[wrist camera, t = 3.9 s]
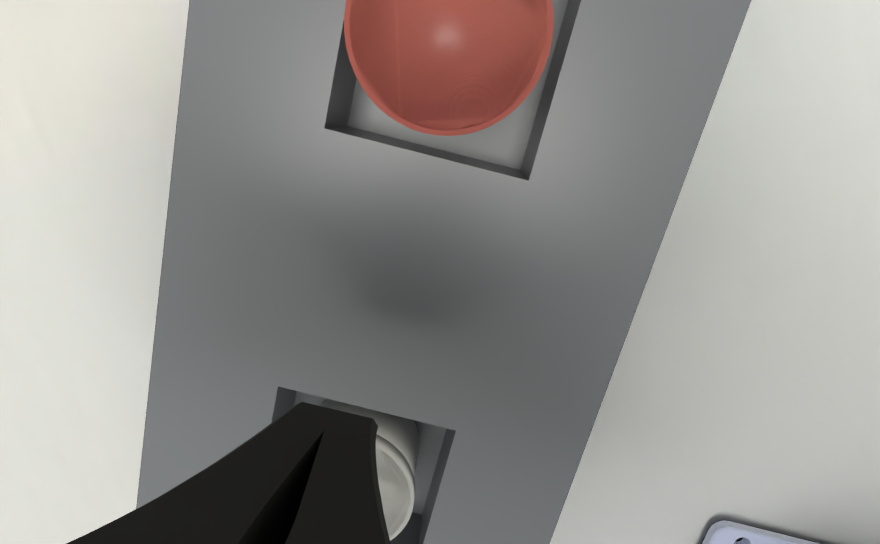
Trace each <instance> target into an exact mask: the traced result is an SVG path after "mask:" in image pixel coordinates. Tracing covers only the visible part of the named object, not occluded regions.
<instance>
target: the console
mask: <svg viewBox="0 0 880 544" xmlns="http://www.w3.org/2000/svg"><path fill="white" fill-rule="evenodd" d="M750 2H751V0H552V5H553V21H554V26H553V37H552V43H551V48H550V52H549V56H548V59H547V62H546V65H545V67H544V70H543V72H542V74H541V76H540V78H539V80H538V82H537V83H536V85H535V86H534V88H533V89H532V91H531V92H530V94H529V95H528V96H527V97H526V99H525V100H524V101H523V102H522V103H521V104H520V105H519V106H518V107H517V108H516V109H515V110H514V111H513V112H512V113H510V114H509V115H508V116H506V117H505V118H503V119H502V120H501V121H499V122H497V123H495V124H493V125H491V126H489V127H488V128H485V129H482V130H479V131H477V132H473V133H469V134H464V135H456V136H438V135H431V134H426V133H422V132H419V131H416V130H413V129H410V128H408V127H406V126H404V125H402V124H400V123H398V122H397V121H395V120H394V119H392V118H391V117H389V116H388V115H386V114H385V113H384V112H383V111H382V110H381V109H380V108H378V107H377V106H376V104H375V103H374V102H373V101H372V100H371V99H370V98H369V97H368V95H367V94H366V92H365V91H364V89H363V88H362V86H361V85H360V83H359V81H358V79H357V77H356V75H355V73H354V71H353V68H352V66H351V63H350V60H349V56H348V52H347V48H346V43H345V35H344V13H345V5H346V0H190V1H189V10H188V20H187V30H186V39H185V49H184V58H183V68H182V77H181V87H180V96H179V106H178V115H177V125H176V134H175V144H174V154H173V163H172V173H171V182H170V192H169V201H168V211H167V220H166V230H165V239H164V249H163V259H162V268H161V278H160V287H159V297H158V306H157V316H156V325H155V335H154V344H153V354H152V364H151V373H150V383H149V392H148V402H147V411H146V421H145V430H144V440H143V449H142V459H141V468H140V478H139V488H138V497H137V507H136V509H137V508H139V507H141V506H143V505H145V504H147V503H148V502H150V501H152V500H154V499H156V498H157V497H159V496H161V495H163V494H164V493H166V492H167V491H169V490H171V489H172V488H174V487H176V486H177V485H179V484H181V483H182V482H184V481H186V480H187V479H189V478H191V477H192V476H194V475H196V474H197V473H199V472H201V471H202V470H204V469H206V468H207V467H209V466H210V465H212V464H213V463H215V462H216V461H218V460H219V459H221V458H222V457H224V456H225V455H227V454H228V453H230V452H231V451H233V450H234V449H236V448H237V447H239V446H240V445H241V444H243V443H244V442H246V441H247V440H249V439H250V438H252V437H253V436H254V435H256V434H257V433H258V432H260V431H261V430H263V429H264V428H265V427H267V426H268V425H269V424H271V423H272V422H274V421H275V420H276V419H278V418H279V417H280V416H281V415H283V414H284V413H285V412H287V411H288V410H289V409H291V408H292V407H293V406H295V405H297V404H299V403H300V402H305V403H310V404H314V405H318V406H321V405H322V404H323V403H324V402H326V401H327V400H328V399H331V400H335V401H339V402H343V403H347V404H351V405H355V406H359V407H363V408H367V409H371V410H375V411H379V412H383V413H387V414H391V415H395V416H399V417H403V418H407V419H411V420H414V422H415V424H416V426H417V429H418V433H419V452H418V458H417V464H416V471H415V477H414V479H415V499H414V505H413V510H412V514H411V517H410V519H409V521H408V523H407V525H406V526H405V527H404V529H403V530H402V531H401V532H400V533H399V534H398V535H397V536H396V537H395V538H394V539H392V540H391V541H390V542H391V544H549V543H550V541H551V538H552V535H553V532H554V530H555V527H556V524H557V522H558V519H559V516H560V514H561V511H562V508H563V506H564V503H565V500H566V497H567V495H568V492H569V489H570V487H571V484H572V481H573V479H574V476H575V473H576V471H577V468H578V465H579V462H580V460H581V457H582V454H583V452H584V449H585V446H586V444H587V441H588V438H589V436H590V433H591V430H592V428H593V425H594V422H595V419H596V417H597V414H598V411H599V409H600V406H601V403H602V401H603V398H604V395H605V393H606V390H607V387H608V384H609V382H610V379H611V376H612V374H613V371H614V368H615V366H616V363H617V360H618V358H619V355H620V352H621V349H622V347H623V344H624V341H625V339H626V336H627V333H628V331H629V328H630V325H631V323H632V320H633V317H634V314H635V312H636V309H637V306H638V304H639V301H640V298H641V296H642V293H643V290H644V288H645V285H646V282H647V280H648V277H649V274H650V271H651V269H652V266H653V263H654V261H655V258H656V255H657V253H658V250H659V247H660V245H661V242H662V239H663V236H664V234H665V231H666V228H667V226H668V223H669V220H670V218H671V215H672V212H673V210H674V207H675V204H676V201H677V199H678V196H679V193H680V191H681V188H682V185H683V183H684V180H685V177H686V175H687V172H688V169H689V166H690V164H691V161H692V158H693V156H694V153H695V150H696V148H697V145H698V142H699V140H700V137H701V134H702V132H703V129H704V126H705V123H706V121H707V118H708V115H709V113H710V110H711V107H712V105H713V102H714V99H715V97H716V94H717V91H718V88H719V86H720V83H721V80H722V78H723V75H724V72H725V70H726V67H727V64H728V62H729V59H730V56H731V53H732V51H733V48H734V45H735V43H736V40H737V37H738V35H739V32H740V29H741V27H742V24H743V21H744V19H745V16H746V13H747V10H748V8H749V5H750Z"/></svg>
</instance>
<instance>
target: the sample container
mask: <svg viewBox="0 0 880 544" xmlns="http://www.w3.org/2000/svg"><path fill="white" fill-rule="evenodd" d="M321 406H322V407H327V408H331V409H335V410H339V411H344V412H348V413H352V414H356V415H361V416H365V417H369V418H373V419H374V420H375V422H376V424H377V425H378V429H377V433H376V464H377V474H378V483H379V489H380V494H381V500H382V506H383V512H384V517H385V521H386V526H387V531H388V534H389V538H390V541H391V540H392V539H394V538H395V537H396V536H397V535H398V534H399V533H400V532H401V531H402V530H403V529H404V527H405V526H406V525H407V523H408V521H409V519H410V517H411V514H412V510H413V505H414V499H415V479H414V477H415V471H416V464H417V458H418V452H419V433H418V429H417V426H416V424H415V422H414V420H411V419H407V418H403V417H399V416H395V415H391V414H387V413H383V412H379V411H375V410H371V409H367V408H363V407H359V406H355V405H351V404H347V403H343V402H339V401H335V400H331V399H328V400H327V401H326V402H324V403H323V404H322V405H321Z"/></svg>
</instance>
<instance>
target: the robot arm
mask: <svg viewBox="0 0 880 544" xmlns="http://www.w3.org/2000/svg"><path fill="white" fill-rule="evenodd" d="M377 429H378V425H377V424H376V422H375V420H374V419H373V418H369V417H365V416H361V415H356V414H352V413H348V412H344V411H339V410H335V409H331V408H327V407H322V406H318V405H314V404H310V403H305V402H300V403H299V404H297V405H295V406H293V407H292V408H291V409H289V410H288V411H287V412H285V413H284V414H283V415H281V416H280V417H279V418H278V419H276V420H275V421H274V422H272V423H271V424H269V425H268V426H267V427H265V428H264V429H263V430H261V431H260V432H258V433H257V434H256V435H254V436H253V437H252V438H250V439H249V440H247V441H246V442H244V443H243V444H241V445H240V446H239V447H237V448H236V449H234V450H233V451H231V452H230V453H228V454H227V455H225V456H224V457H222V458H221V459H219V460H218V461H216V462H215V463H213V464H212V465H210V466H209V467H207V468H206V469H204V470H202V471H201V472H199V473H197V474H196V475H194V476H192V477H191V478H189V479H187V480H186V481H184V482H182V483H181V484H179V485H177V486H176V487H174V488H172V489H171V490H169V491H167V492H166V493H164V494H163V495H161V496H159V497H157V498H156V499H154V500H152V501H150V502H148V503H147V504H145V505H143V506H141V507H139V508H137V509H136V510H134V511H132V512H130V513H128V514H126V515H124V516H122V517H121V518H119V519H117V520H115V521H113V522H111V523H109V524H107V525H105V526H103V527H101V528H99V529H97V530H95V531H92V532H90V533H88V534H86V535H84V536H82V537H80V538H78V539H76V540H73V541H71V542H69V543H67V544H391V542H390V538H389V534H388V531H387V526H386V521H385V517H384V512H383V506H382V500H381V494H380V489H379V483H378V474H377V464H376V433H377ZM739 538H743V539H742V540H741V541H738V542H735V541H736V540H737V539H739ZM702 544H819V543H815V542H811V541H807V540H803V539H799V538H795V537H791V536H787V535H783V534H779V533H775V532H771V531H767V530H763V529H759V528H755V527H751V526H747V525H743V524H739V523H735V522H731V521H719V522H716V523H714V524H713V525H712V526H711V527H710V528H709V530H708V532H707V534H706V536H705V539H704V541H703V543H702Z"/></svg>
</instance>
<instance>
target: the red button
mask: <svg viewBox="0 0 880 544" xmlns="http://www.w3.org/2000/svg"><path fill="white" fill-rule="evenodd" d="M553 26H554V21H553V5H552V0H346V5H345V13H344V35H345V43H346V48H347V52H348V56H349V60H350V63H351V66H352V68H353V71H354V73H355V75H356V77H357V79H358V81H359V83H360V85H361V86H362V88H363V89H364V91H365V92H366V94H367V95H368V97H369V98H370V99H371V100H372V101H373V102H374V103H375V104H376V106H377V107H378V108H380V109H381V110H382V111H383V112H384V113H385V114H386V115H388V116H389V117H391V118H392V119H394V120H395V121H397V122H398V123H400V124H402V125H404V126H406V127H408V128H410V129H413V130H416V131H419V132H422V133H426V134H431V135H438V136H456V135H464V134H469V133H473V132H477V131H479V130H482V129H485V128H488V127H489V126H491V125H493V124H495V123H497V122H499V121H501V120H502V119H503V118H505V117H506V116H508V115H509V114H510V113H512V112H513V111H514V110H515V109H516V108H517V107H518V106H519V105H520V104H521V103H522V102H523V101H524V100H525V99H526V97H527V96H528V95H529V94H530V92H531V91H532V89H533V88H534V86H535V85H536V83H537V82H538V80H539V78H540V76H541V74H542V72H543V70H544V67H545V65H546V62H547V59H548V56H549V52H550V48H551V43H552V37H553Z"/></svg>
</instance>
